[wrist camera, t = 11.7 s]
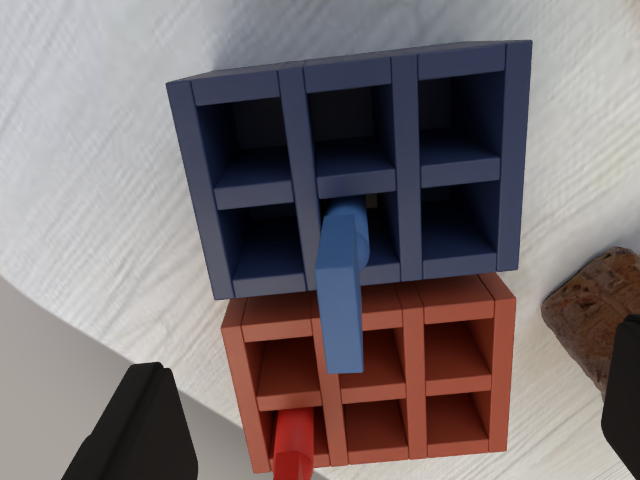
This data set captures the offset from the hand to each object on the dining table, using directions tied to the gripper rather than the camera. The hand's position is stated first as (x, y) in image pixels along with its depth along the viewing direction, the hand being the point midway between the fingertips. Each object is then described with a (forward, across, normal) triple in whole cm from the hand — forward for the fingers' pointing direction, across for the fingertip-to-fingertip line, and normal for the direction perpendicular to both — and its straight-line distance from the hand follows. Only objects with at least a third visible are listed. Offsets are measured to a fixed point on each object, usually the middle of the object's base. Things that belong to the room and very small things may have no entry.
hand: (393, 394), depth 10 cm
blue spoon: (+16, 0, 0) cm, 16 cm away
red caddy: (+17, 0, +8) cm, 19 cm away
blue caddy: (+17, 0, -2) cm, 17 cm away
